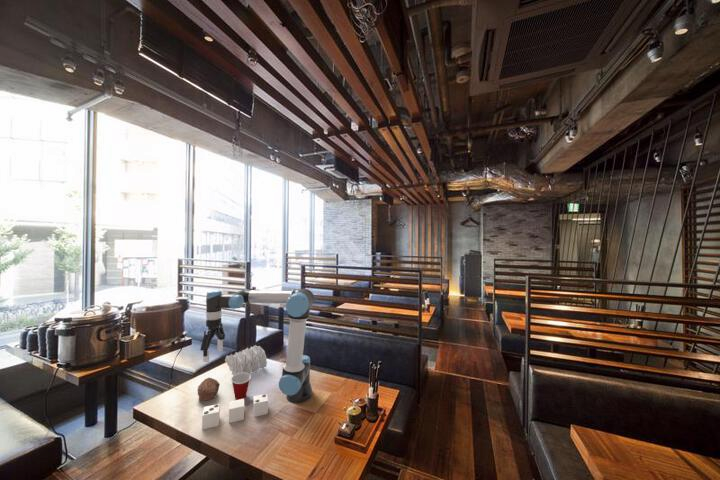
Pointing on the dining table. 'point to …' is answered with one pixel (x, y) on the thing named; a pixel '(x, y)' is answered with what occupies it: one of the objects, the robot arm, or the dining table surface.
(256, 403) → the block two pips
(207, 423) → the block three pips
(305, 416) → the dining table surface
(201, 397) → the coconut
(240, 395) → the plastic cup
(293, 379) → the robot arm
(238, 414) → the blank block
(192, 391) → the dining table surface
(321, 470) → the dining table surface
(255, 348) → the white ruffled irregular piece
